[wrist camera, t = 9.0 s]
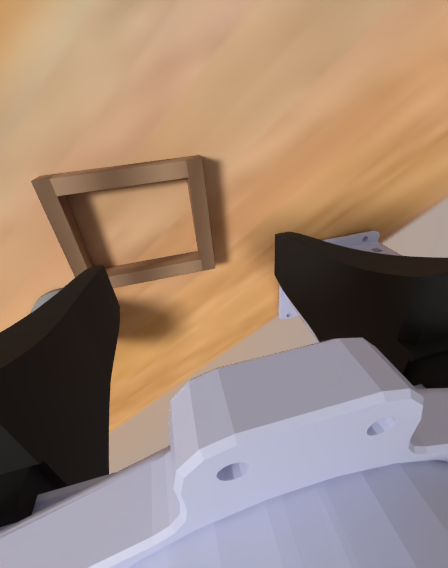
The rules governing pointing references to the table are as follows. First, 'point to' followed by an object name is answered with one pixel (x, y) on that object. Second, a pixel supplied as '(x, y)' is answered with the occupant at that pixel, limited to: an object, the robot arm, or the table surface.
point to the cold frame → (62, 184)
